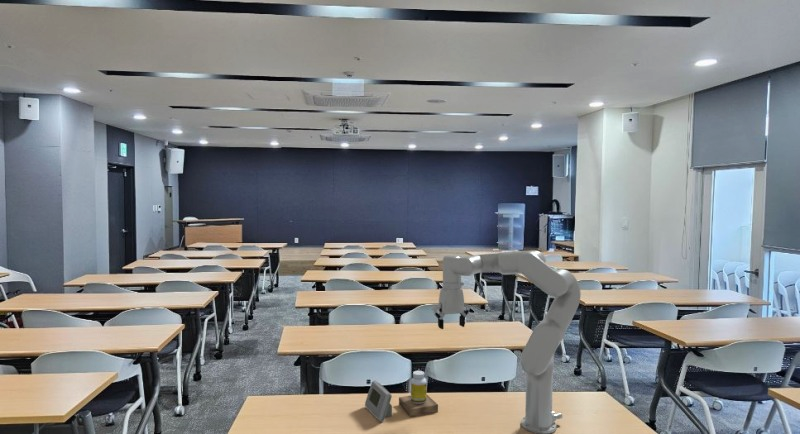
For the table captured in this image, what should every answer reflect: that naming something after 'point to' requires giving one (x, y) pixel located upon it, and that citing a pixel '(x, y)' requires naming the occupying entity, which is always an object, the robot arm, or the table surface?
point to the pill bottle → (418, 388)
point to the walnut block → (418, 406)
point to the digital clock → (379, 401)
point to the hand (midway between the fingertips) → (451, 327)
